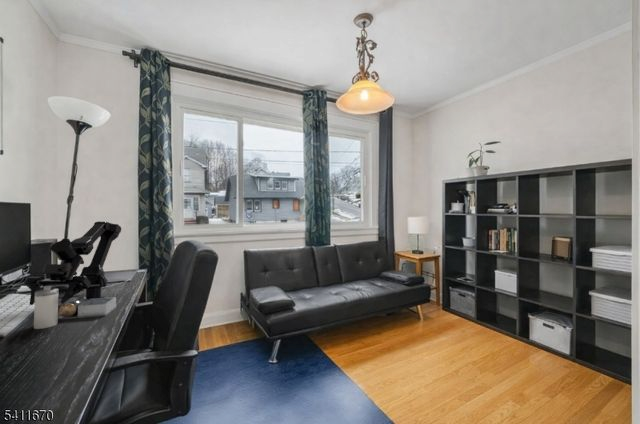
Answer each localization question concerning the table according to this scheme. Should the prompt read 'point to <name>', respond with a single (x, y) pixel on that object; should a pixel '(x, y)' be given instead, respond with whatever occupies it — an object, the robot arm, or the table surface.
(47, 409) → the table surface
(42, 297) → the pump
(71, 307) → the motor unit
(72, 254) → the robot arm
